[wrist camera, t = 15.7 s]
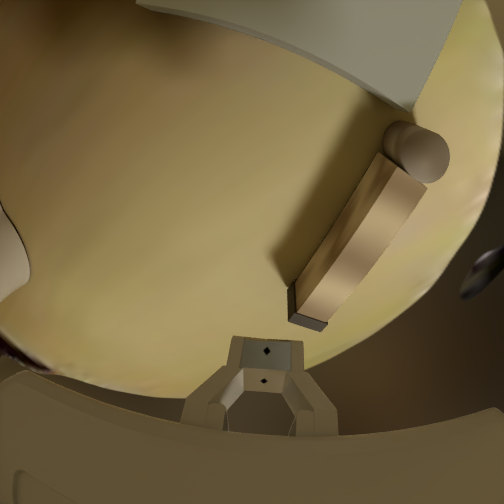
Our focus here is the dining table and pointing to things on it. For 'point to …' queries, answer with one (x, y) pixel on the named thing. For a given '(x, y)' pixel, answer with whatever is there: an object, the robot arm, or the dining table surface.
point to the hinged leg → (368, 222)
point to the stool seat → (342, 35)
